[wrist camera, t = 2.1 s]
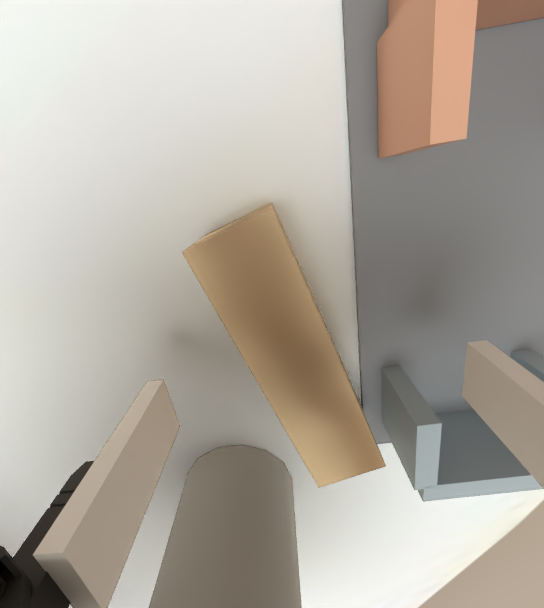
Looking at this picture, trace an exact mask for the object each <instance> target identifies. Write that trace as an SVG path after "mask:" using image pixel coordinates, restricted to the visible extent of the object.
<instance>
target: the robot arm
mask: <svg viewBox="0 0 544 608" xmlns="http://www.w3.org/2000/svg"><path fill="white" fill-rule="evenodd" d="M462 397H463V398H464V399H465V400H466V401H467V402H468V403H469V405H470V406H471V407H472V408H473V409H474V410H475V411H476V412H477V414H478V415H479V416H480V417H481V418H482V419H483V420H484V422H485V423H486V424H487V425H488V426H489V427H490V428H491V430H492V431H493V432H494V433H495V434H496V435H497V436H498V437H499V439H500V440H501V441H502V442H503V443H504V444H505V445H506V447H507V448H508V449H509V450H510V451H511V452H512V453H513V455H514V456H515V457H516V458H517V459H518V460H519V461H520V463H521V464H522V465H523V466H524V467H525V468H526V469H527V470H528V472H529V473H530V474H531V475H532V476H533V477H534V478H535V480H536V481H537V482H538V483H539V484H540V485H541V486H542V488H543V489H544V382H543V381H541V380H540V379H539V378H537V377H536V376H535V375H533V374H532V373H531V372H529V371H528V370H527V369H525V368H524V367H522V366H521V365H520V364H518V363H517V362H516V361H514V360H513V359H512V358H510V357H509V356H508V355H506V354H505V353H504V352H502V351H501V350H499V349H498V348H497V347H495V346H494V345H493V344H491V343H490V342H489V341H487V340H484V341H476V342H468V344H467V353H466V362H465V370H464V379H463V388H462ZM179 427H180V425H179V423H178V420H177V417H176V414H175V411H174V408H173V406H172V403H171V400H170V397H169V394H168V391H167V388H166V386H165V383H164V380H154V381H147V382H146V383H145V385H144V387H143V388H142V390H141V391H140V393H139V394H138V396H137V397H136V399H135V400H134V402H133V403H132V405H131V406H130V408H129V409H128V411H127V412H126V414H125V415H124V417H123V418H122V420H121V421H120V423H119V424H118V426H117V428H116V429H115V431H114V432H113V434H112V435H111V437H110V438H109V440H108V441H107V443H106V444H105V446H104V447H103V449H102V450H101V452H100V453H99V455H98V456H97V458H96V459H95V461H89V462H85V463H84V464H83V465H82V466H81V467H80V468H79V469H78V470H77V471H76V472H74V473H73V474H72V475H71V476H70V478H69V479H68V481H67V482H66V483H65V485H64V486H63V488H62V489H61V491H60V494H59V495H57V496H56V498H55V499H54V500H53V502H52V503H51V506H50V508H48V509H47V510H46V512H45V513H44V515H43V516H42V517H41V519H40V520H39V522H38V523H37V525H36V526H35V527H34V529H33V530H32V532H31V533H30V534H29V536H28V537H27V539H26V540H25V542H24V543H23V544H22V546H21V547H20V549H19V550H18V551H17V553H16V554H15V556H14V557H13V558H12V557H11V556H10V554H9V553H8V552H7V551H6V549H5V548H4V547H2V546H0V608H68V607H69V605H71V606H72V607H73V608H108V605H109V603H110V600H111V598H112V595H113V593H114V590H115V588H116V585H117V583H118V580H119V578H120V575H121V573H122V570H123V568H124V565H125V563H126V560H127V558H128V555H129V553H130V550H131V548H132V545H133V543H134V540H135V538H136V535H137V533H138V530H139V528H140V525H141V523H142V520H143V517H144V515H145V512H146V510H147V507H148V505H149V502H150V500H151V497H152V495H153V492H154V490H155V487H156V485H157V482H158V480H159V477H160V475H161V472H162V470H163V467H164V465H165V462H166V460H167V457H168V455H169V452H170V450H171V447H172V445H173V442H174V440H175V437H176V435H177V432H178V430H179Z"/></svg>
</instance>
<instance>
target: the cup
mask: <svg viewBox="0 0 544 608" xmlns="http://www.w3.org/2000/svg"><path fill="white" fill-rule="evenodd" d="M149 608H301V594H300V581H299V567H298V554H297V540H296V526H295V513H294V499H293V486H292V478H291V476H290V474H289V472H288V470H287V468H286V466H285V464H284V462H282V461H281V460H279V459H278V458H276V457H275V456H273V455H272V454H271V453H269V452H268V451H266V450H262V449H258V448H254V447H249V446H245V445H236V446H227V447H218V448H216V449H214V450H212V451H210V452H208V453H206V454H204V455H203V456H201V457H199V458H198V459H197V460H196V462H195V463H194V465H193V466H192V468H191V469H190V471H189V472H188V474H187V478H186V481H185V485H184V488H183V492H182V495H181V498H180V502H179V505H178V509H177V512H176V516H175V519H174V523H173V526H172V529H171V533H170V536H169V540H168V543H167V547H166V550H165V554H164V557H163V560H162V564H161V567H160V571H159V574H158V578H157V581H156V585H155V588H154V592H153V595H152V598H151V602H150V605H149Z"/></svg>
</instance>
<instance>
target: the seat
mask: <svg viewBox="0 0 544 608" xmlns="http://www.w3.org/2000/svg"><path fill="white" fill-rule="evenodd" d="M342 5H343V25H344V46H345V67H346V87H347V108H348V128H349V149H350V169H351V190H352V210H353V231H354V252H355V272H356V293H357V313H358V334H359V354H360V375H361V395H362V410H363V412H364V414H365V417H366V419H367V422H368V424H369V426H370V429H371V431H372V434H373V436H374V439H375V441H376V443H377V444H383V443H391V442H392V444H393V446H394V448H395V450H396V452H397V454H398V456H399V458H400V460H401V463H402V465H403V467H404V469H405V471H406V473H407V475H408V477H409V479H410V481H411V484H412V486H413V488H414V490H418V492H419V494H420V496H421V498H422V500H423V501H432V500H442V499H451V498H461V497H470V496H480V495H489V494H499V493H509V492H518V491H528V490H537V489H543V488H542V486H541V485H540V484H539V483H538V482H537V481H536V480H535V478H534V477H533V476H532V475H531V474H530V473H529V472H528V470H527V469H526V468H525V467H524V466H523V465H522V464H521V463H520V461H519V460H518V459H517V458H516V457H515V456H514V455H513V453H512V452H511V451H510V450H509V449H508V448H507V447H506V445H505V444H504V443H503V442H502V441H501V440H500V439H499V437H498V436H497V435H496V434H495V433H494V432H493V431H492V430H491V428H490V427H489V426H488V425H487V424H486V423H485V422H484V420H483V419H482V418H481V417H480V416H479V415H478V414H477V412H476V411H475V410H474V409H473V408H472V407H471V406H470V405H469V403H468V402H467V401H466V400H465V399H464V398H463V397H462V388H463V379H464V370H465V362H466V353H467V344H468V342H476V341H484V340H487V341H489V342H490V343H491V344H493V345H494V346H495V347H497V348H498V349H499V350H501V351H502V352H504V353H505V354H506V355H508V356H509V357H510V358H512V359H513V360H514V361H516V362H517V363H518V364H520V365H521V366H522V367H524V368H525V369H527V370H528V371H529V372H531V373H532V374H533V375H535V376H536V377H537V378H539V379H540V380H541V381H543V382H544V17H543V18H538V19H532V20H527V21H522V22H516V23H511V24H505V25H500V26H495V27H489V28H484V29H479V30H475V40H474V53H473V65H472V77H471V89H470V102H469V114H468V126H467V138H466V139H463V140H459V141H455V142H451V143H447V144H443V145H439V146H435V147H431V148H427V149H423V150H419V151H415V152H411V153H407V154H404V155H398V156H392V157H386V158H380V159H379V149H378V87H377V42H378V40H379V39H380V38H381V36H382V35H383V34H384V32H385V31H386V29H387V28H388V0H342Z"/></svg>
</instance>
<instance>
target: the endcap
mask: <svg viewBox="0 0 544 608" xmlns="http://www.w3.org/2000/svg"><path fill="white" fill-rule="evenodd" d="M543 17H544V0H388V28H387V29H386V31H385V32H384V34H383V35H382V36H381V38H380V39H379V40H378V42H377V87H378V149H379V159H380V158H386V157H392V156H398V155H404V154H407V153H411V152H415V151H419V150H423V149H427V148H431V147H435V146H439V145H443V144H447V143H451V142H455V141H459V140H463V139H466V138H467V126H468V114H469V102H470V89H471V77H472V65H473V53H474V40H475V30H479V29H484V28H489V27H495V26H500V25H505V24H511V23H516V22H522V21H527V20H532V19H538V18H543Z"/></svg>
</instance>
